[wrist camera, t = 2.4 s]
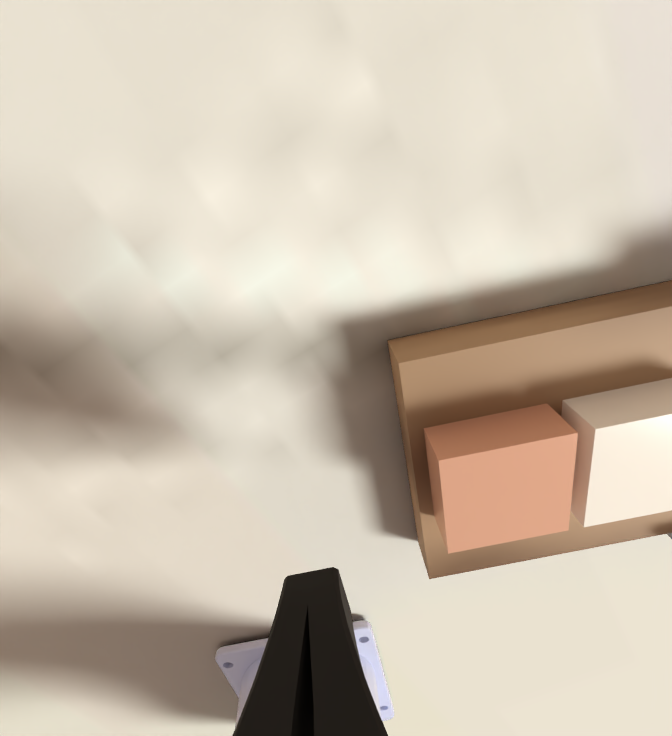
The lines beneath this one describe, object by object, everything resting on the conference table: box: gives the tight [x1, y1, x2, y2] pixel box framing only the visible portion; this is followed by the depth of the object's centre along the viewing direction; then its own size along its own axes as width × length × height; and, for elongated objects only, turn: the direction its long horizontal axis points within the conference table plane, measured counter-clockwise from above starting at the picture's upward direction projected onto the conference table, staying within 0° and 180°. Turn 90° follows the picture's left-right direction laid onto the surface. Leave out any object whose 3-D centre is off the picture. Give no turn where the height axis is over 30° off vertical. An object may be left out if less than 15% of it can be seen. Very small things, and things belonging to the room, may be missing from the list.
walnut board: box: [387, 280, 672, 579], centre depth 14 cm, size 10×10×2 cm
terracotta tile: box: [424, 403, 578, 554], centre depth 13 cm, size 4×4×2 cm
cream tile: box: [561, 378, 672, 527], centre depth 13 cm, size 4×4×2 cm
